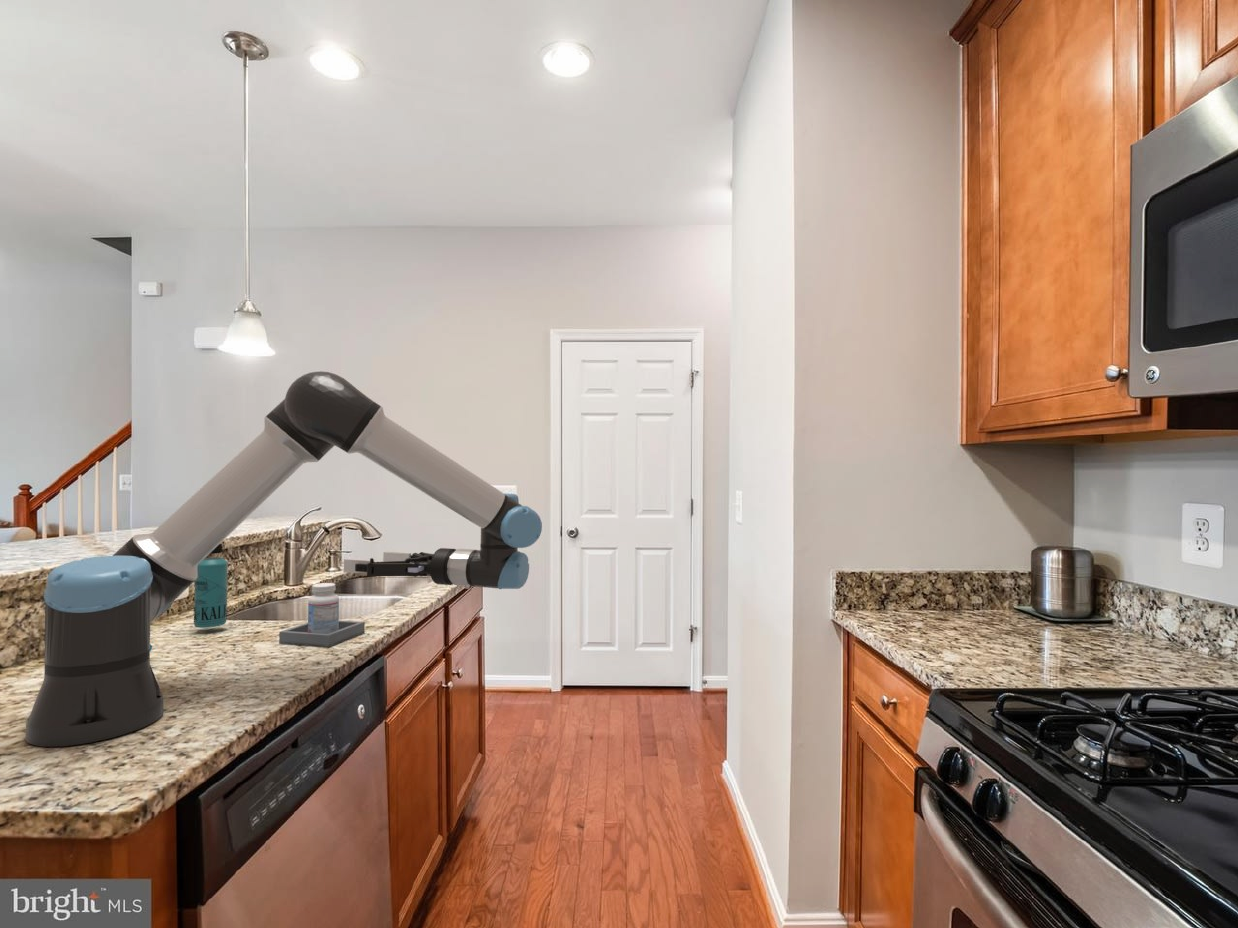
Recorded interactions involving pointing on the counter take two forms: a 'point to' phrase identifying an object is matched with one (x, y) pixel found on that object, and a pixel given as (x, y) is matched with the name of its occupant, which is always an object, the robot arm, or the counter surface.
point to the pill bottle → (323, 609)
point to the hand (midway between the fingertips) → (365, 561)
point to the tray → (321, 635)
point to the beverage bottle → (211, 592)
